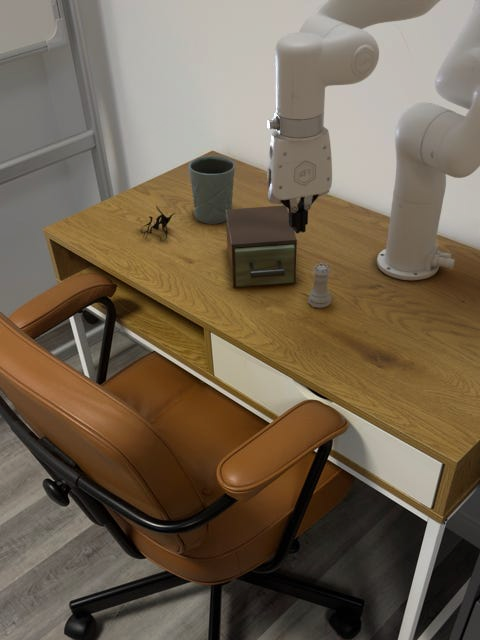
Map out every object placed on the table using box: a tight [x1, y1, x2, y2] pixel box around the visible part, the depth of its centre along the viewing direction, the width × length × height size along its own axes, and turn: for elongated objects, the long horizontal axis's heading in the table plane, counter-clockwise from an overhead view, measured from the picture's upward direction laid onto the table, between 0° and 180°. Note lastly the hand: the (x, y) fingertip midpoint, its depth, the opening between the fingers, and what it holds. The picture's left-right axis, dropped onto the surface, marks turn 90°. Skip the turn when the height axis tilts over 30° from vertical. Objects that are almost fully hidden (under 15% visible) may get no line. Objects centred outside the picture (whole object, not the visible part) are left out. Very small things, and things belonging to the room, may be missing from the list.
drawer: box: [235, 244, 295, 288], centre depth 140 cm, size 18×11×8 cm, turn 5°
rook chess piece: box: [307, 262, 332, 309], centre depth 133 cm, size 4×4×8 cm
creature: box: [140, 204, 176, 242], centre depth 156 cm, size 8×5×8 cm
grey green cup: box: [188, 155, 236, 225], centre depth 160 cm, size 10×10×12 cm
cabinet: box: [225, 205, 298, 288], centre depth 143 cm, size 15×13×10 cm
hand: (298, 229), depth 123 cm, fingers closed
